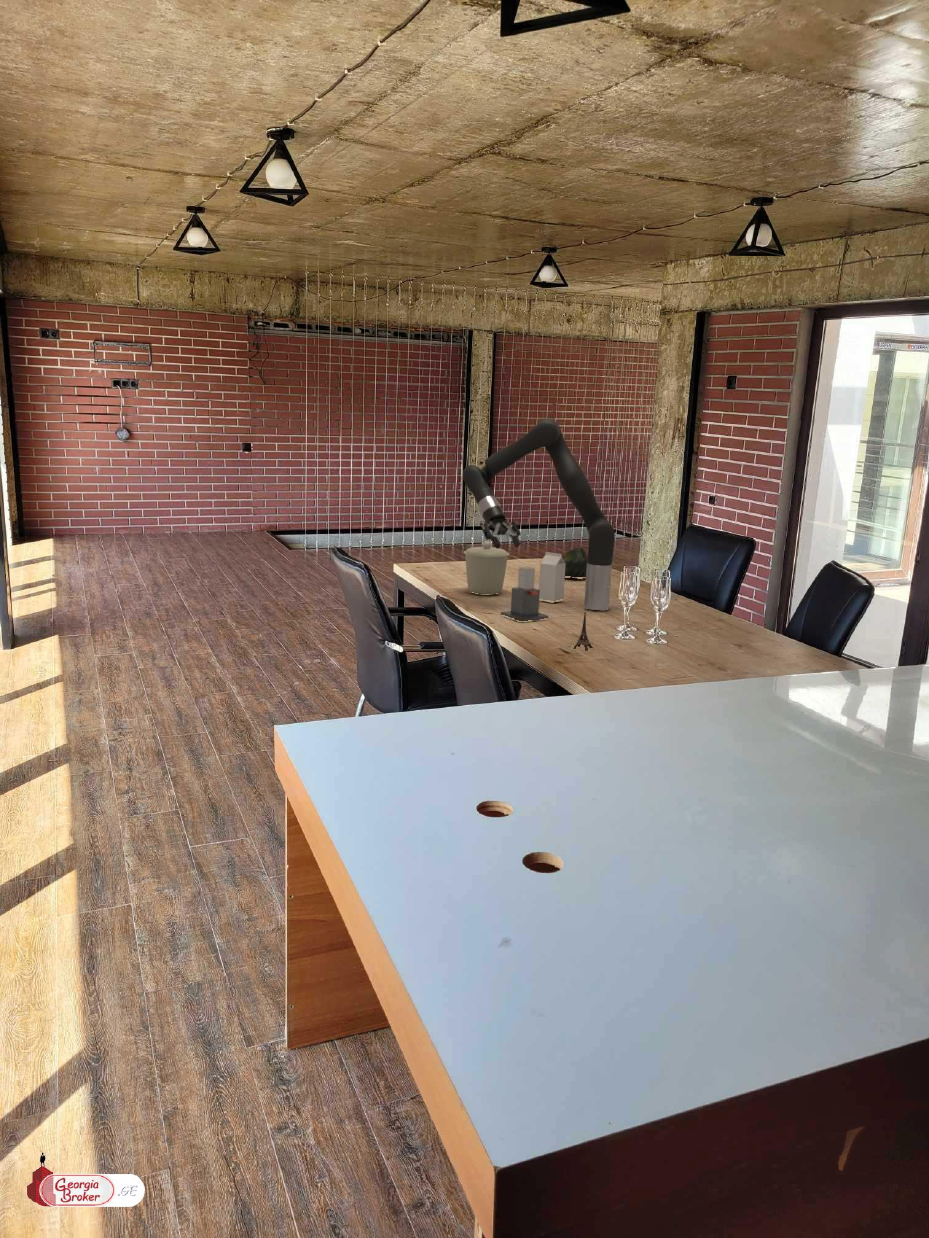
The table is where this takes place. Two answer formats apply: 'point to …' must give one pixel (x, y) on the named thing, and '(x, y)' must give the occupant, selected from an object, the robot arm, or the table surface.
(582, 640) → the eiffel tower figurine
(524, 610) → the jack stand base
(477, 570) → the canister
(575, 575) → the squash
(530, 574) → the column
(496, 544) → the robot arm
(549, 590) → the milk carton
